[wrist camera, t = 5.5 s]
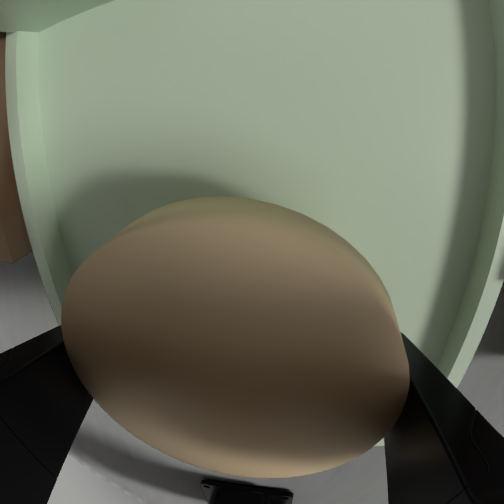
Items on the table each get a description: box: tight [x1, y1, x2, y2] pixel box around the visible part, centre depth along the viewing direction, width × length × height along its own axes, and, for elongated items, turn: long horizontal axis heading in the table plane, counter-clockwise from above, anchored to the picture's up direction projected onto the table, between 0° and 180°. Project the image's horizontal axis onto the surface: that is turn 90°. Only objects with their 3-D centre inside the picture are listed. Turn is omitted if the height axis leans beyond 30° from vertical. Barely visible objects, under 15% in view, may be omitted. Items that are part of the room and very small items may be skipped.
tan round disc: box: [61, 196, 410, 478], centre depth 7 cm, size 8×8×2 cm
